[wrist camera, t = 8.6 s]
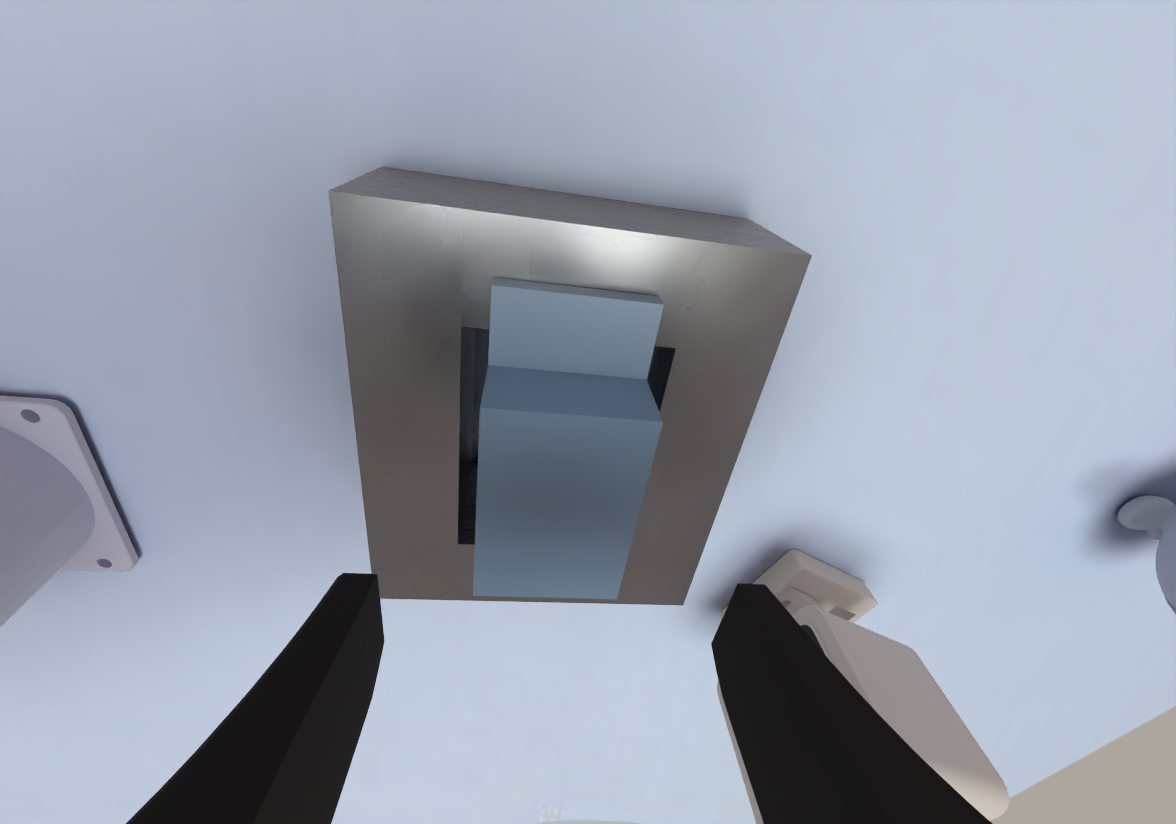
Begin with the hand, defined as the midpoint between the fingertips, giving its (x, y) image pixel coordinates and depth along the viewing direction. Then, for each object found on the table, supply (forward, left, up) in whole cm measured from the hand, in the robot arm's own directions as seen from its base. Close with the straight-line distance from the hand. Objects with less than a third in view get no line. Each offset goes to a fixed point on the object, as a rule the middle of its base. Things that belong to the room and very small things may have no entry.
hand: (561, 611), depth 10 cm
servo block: (0, 0, -10) cm, 10 cm away
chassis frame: (0, 0, -10) cm, 10 cm away
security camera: (+13, -11, -10) cm, 20 cm away
